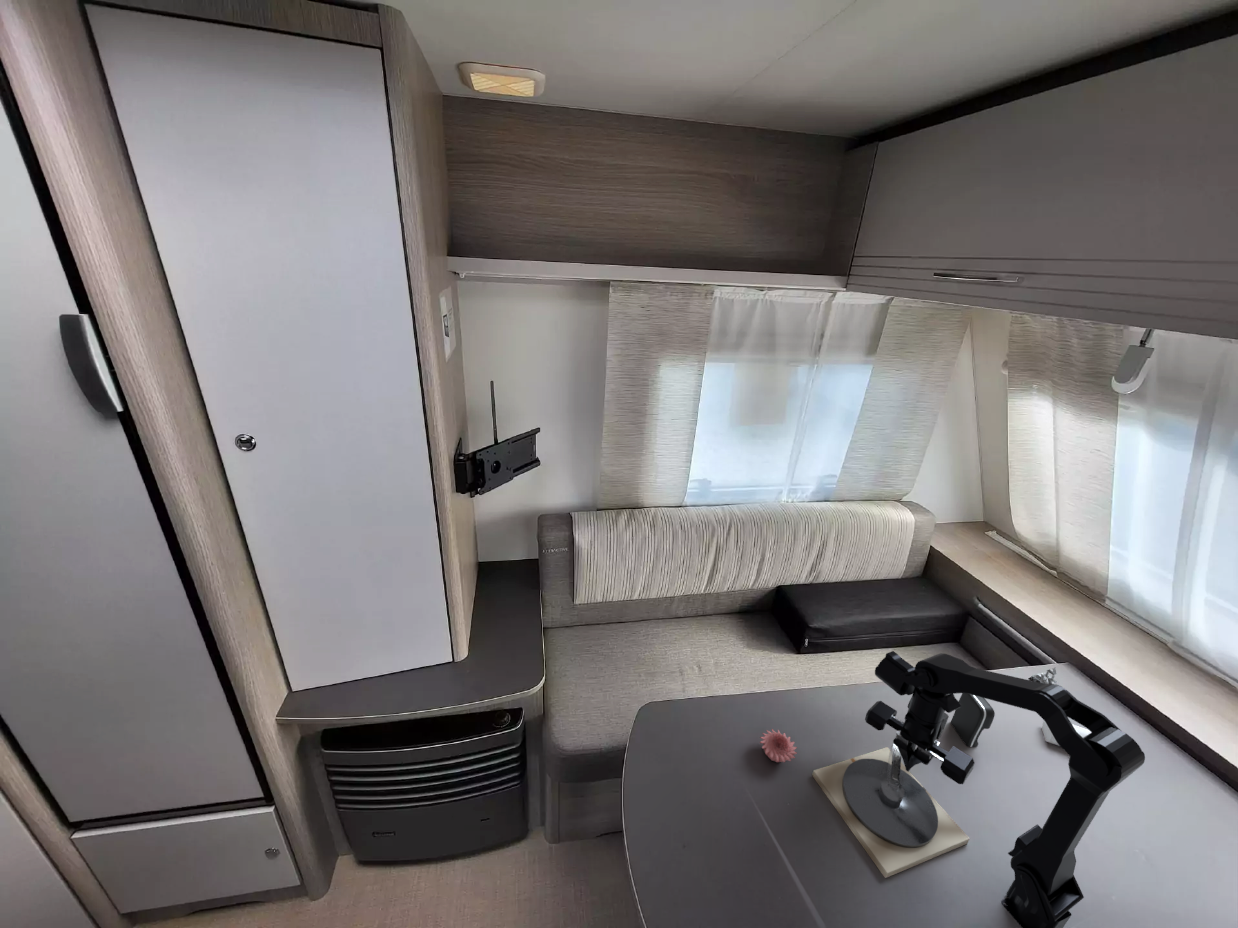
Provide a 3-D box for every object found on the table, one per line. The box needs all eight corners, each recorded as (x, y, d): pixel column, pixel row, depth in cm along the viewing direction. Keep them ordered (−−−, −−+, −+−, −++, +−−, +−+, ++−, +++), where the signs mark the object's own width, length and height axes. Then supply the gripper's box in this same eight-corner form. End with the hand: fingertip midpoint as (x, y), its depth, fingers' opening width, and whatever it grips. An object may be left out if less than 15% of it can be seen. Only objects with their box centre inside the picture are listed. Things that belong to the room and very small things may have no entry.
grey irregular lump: (1006, 681, 136) (1016, 659, 133) (1026, 673, 139) (1037, 651, 136) (1042, 707, 128) (1054, 684, 125) (1063, 698, 131) (1075, 676, 129)
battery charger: (983, 749, 116) (1000, 712, 111) (966, 748, 116) (983, 711, 111) (963, 723, 122) (979, 687, 118) (948, 722, 122) (963, 686, 118)
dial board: (967, 843, 96) (970, 837, 96) (885, 877, 90) (887, 872, 89) (885, 751, 114) (887, 746, 113) (812, 775, 107) (813, 769, 107)
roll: (1111, 770, 113) (1122, 752, 110) (1045, 746, 117) (1055, 729, 115) (1102, 749, 118) (1112, 731, 115) (1039, 727, 122) (1048, 710, 120)
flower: (786, 739, 115) (790, 722, 113) (800, 773, 108) (805, 754, 105) (752, 740, 114) (756, 722, 112) (763, 774, 107) (768, 755, 105)
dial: (936, 867, 90) (945, 848, 88) (836, 815, 98) (842, 796, 96) (936, 781, 106) (943, 763, 104) (849, 741, 113) (855, 724, 111)
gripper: (994, 722, 98) (972, 780, 103) (895, 666, 112) (880, 721, 117) (973, 752, 91) (951, 813, 97) (871, 690, 105) (856, 746, 110)
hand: (907, 769), depth 105 cm, fingers closed
